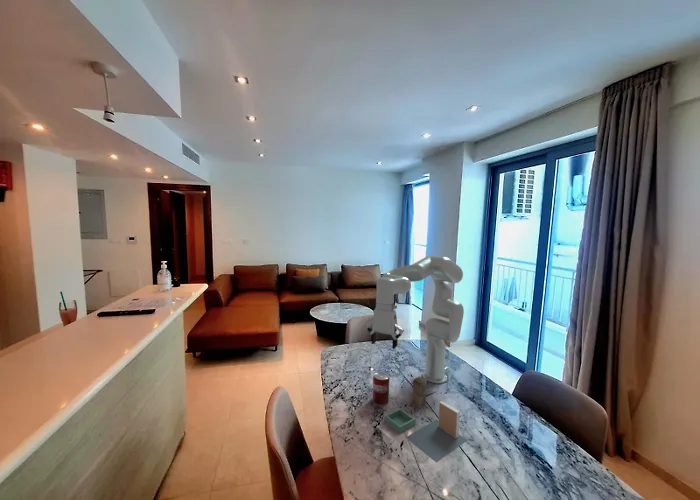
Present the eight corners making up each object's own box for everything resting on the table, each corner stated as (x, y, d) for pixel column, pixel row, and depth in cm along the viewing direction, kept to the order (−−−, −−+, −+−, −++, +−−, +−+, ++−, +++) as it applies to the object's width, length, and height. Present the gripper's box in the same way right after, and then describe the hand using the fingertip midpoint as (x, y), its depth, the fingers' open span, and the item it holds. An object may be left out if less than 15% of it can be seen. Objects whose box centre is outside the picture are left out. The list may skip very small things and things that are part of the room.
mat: (436, 420, 120) (436, 419, 120) (467, 441, 108) (467, 440, 108) (405, 438, 109) (405, 437, 109) (436, 463, 98) (436, 462, 98)
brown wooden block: (418, 402, 133) (419, 376, 132) (425, 406, 129) (426, 380, 128) (412, 405, 130) (413, 379, 129) (419, 409, 127) (420, 383, 126)
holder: (399, 414, 123) (399, 408, 123) (415, 426, 116) (415, 419, 116) (384, 422, 118) (384, 415, 118) (399, 434, 111) (400, 427, 111)
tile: (440, 424, 117) (441, 400, 116) (458, 436, 110) (459, 411, 109) (438, 426, 116) (439, 402, 115) (455, 438, 109) (457, 412, 108)
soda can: (388, 407, 128) (388, 381, 127) (371, 405, 130) (372, 378, 129) (389, 397, 135) (389, 372, 134) (373, 395, 137) (374, 371, 136)
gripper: (407, 307, 124) (405, 346, 125) (370, 301, 133) (369, 338, 134) (401, 311, 118) (399, 353, 119) (362, 305, 126) (362, 344, 127)
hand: (383, 345), depth 126 cm, fingers open, 9 cm apart
